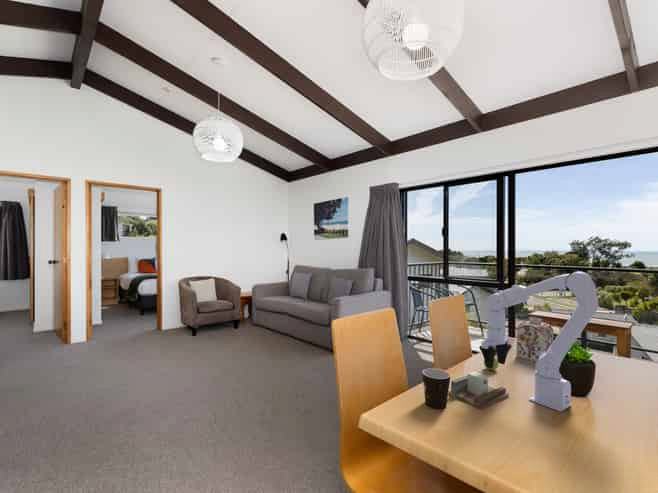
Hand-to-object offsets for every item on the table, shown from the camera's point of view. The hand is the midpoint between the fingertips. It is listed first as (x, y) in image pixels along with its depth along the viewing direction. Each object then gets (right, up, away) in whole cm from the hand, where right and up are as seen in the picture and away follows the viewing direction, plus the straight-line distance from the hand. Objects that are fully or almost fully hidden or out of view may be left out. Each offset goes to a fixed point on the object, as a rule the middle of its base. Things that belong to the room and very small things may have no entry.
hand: (495, 365), depth 121 cm
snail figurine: (+8, -9, +19) cm, 22 cm away
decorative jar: (+35, -9, +34) cm, 50 cm away
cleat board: (-8, -8, -6) cm, 13 cm away
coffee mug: (-26, -8, -14) cm, 30 cm away
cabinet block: (-9, -7, -5) cm, 12 cm away
